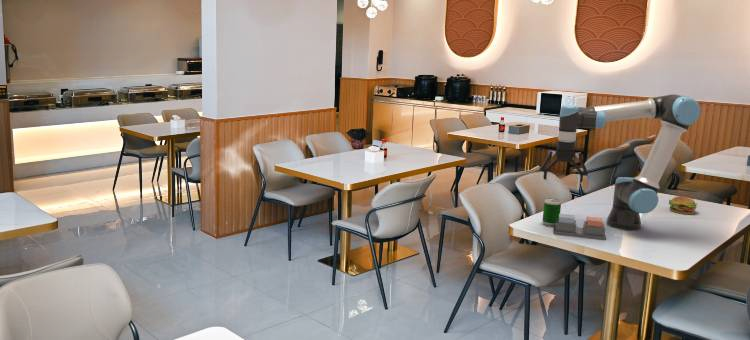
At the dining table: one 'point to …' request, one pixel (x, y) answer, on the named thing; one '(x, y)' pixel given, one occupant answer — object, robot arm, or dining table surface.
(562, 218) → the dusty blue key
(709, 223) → the dining table surface
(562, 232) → the key console
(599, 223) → the brick red key
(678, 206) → the food
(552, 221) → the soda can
